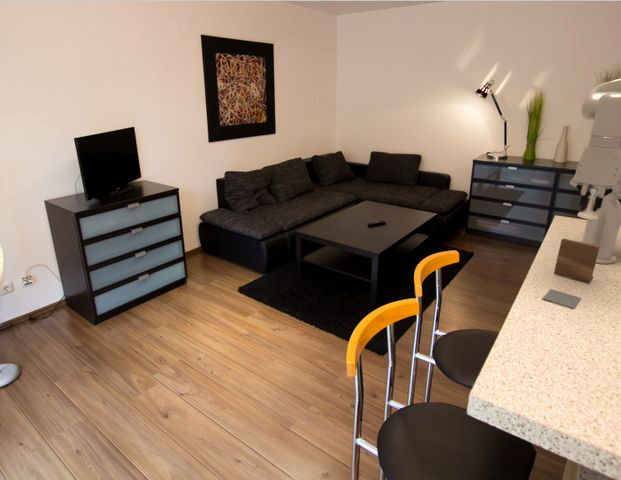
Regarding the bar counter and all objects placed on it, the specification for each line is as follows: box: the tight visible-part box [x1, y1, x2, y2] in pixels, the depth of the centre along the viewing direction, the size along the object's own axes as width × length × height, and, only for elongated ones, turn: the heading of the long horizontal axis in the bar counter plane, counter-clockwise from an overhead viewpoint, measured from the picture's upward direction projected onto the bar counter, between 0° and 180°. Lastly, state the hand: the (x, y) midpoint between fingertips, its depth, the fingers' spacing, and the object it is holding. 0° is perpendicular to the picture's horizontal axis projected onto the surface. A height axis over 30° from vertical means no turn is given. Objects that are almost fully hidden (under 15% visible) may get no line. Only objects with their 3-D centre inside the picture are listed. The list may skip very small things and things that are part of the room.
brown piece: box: [553, 238, 600, 285], centre depth 129 cm, size 5×10×12 cm, turn 46°
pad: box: [541, 288, 582, 310], centre depth 117 cm, size 8×8×1 cm
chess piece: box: [577, 185, 599, 220], centre depth 114 cm, size 5×5×10 cm
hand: (589, 209), depth 115 cm, fingers closed on chess piece
